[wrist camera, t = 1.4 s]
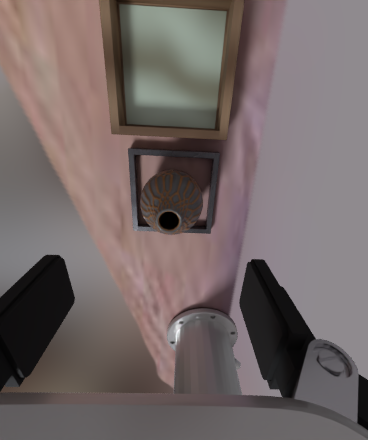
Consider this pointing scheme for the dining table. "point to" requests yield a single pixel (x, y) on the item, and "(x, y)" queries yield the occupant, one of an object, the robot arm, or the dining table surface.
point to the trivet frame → (176, 153)
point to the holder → (171, 65)
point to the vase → (171, 202)
